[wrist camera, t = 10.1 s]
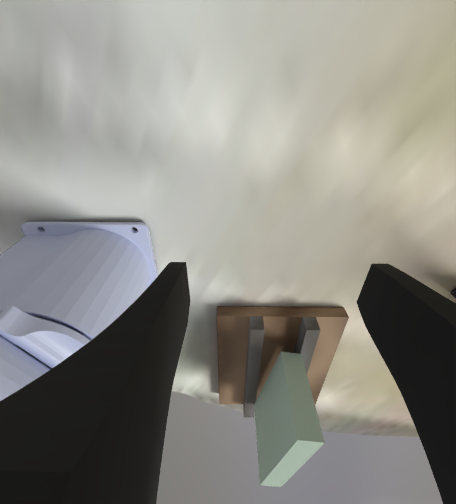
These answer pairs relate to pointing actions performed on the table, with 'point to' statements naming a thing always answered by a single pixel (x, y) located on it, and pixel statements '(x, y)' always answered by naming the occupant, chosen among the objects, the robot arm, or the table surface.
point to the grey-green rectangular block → (286, 421)
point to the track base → (273, 347)
